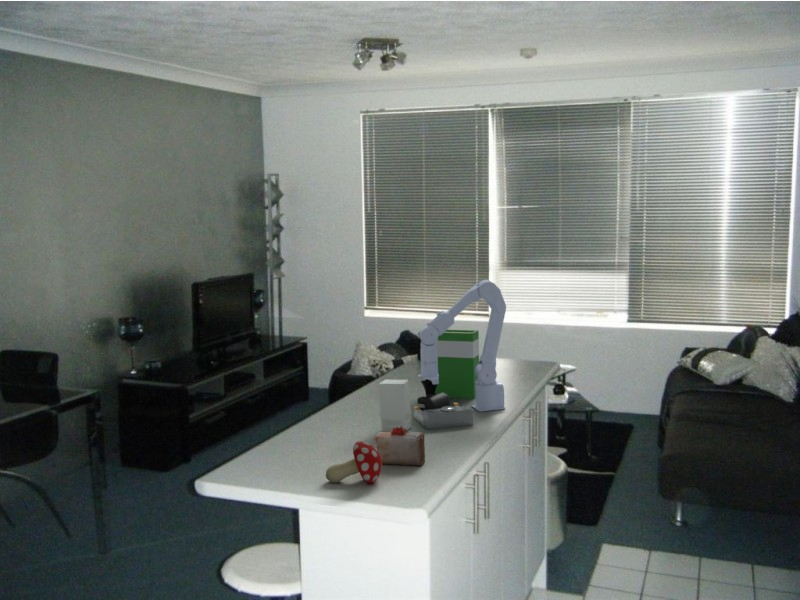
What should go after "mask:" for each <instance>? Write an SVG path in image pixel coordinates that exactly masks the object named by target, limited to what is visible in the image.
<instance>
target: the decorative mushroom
mask: <svg viewBox="0 0 800 600" xmlns="http://www.w3.org/2000/svg"><path fill="white" fill-rule="evenodd" d="M352 454H353V458H352V459H350V460H347V461H345V462H342V463H337V464H333V465H331V466H329V467H328V468H327V469H326V471H325V472H326V473H325V477H326V480H328V481H329V482H330V483H334V484H336V483H338V482H342V481H343V480H345V479H346V478H348V477H350V476H353V475H356V474H358V473H359V475H360V476H361V478H362V480H363V481H364V482H365V483H367V484H373V483H375V482H377V480H378V479H379V476H380V474H381V473H382V467H383V466H382V465H383V464H382V459H381V456H380V454H379V452H378V451H377V448H375V447H374V445H372V444H370V443H368V442H365V441H356V442H355V443H354V445H353V448H352Z"/></svg>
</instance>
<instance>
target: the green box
mask: <svg viewBox="0 0 800 600" xmlns="http://www.w3.org/2000/svg"><path fill="white" fill-rule="evenodd" d="M479 337H480V336H479V330H473V329H469V330H468V329H447V330H446V331H445V332H444V333H443V334H442V335H440V336H438V340H437V342H436V348H437V358H438V374H439V377H438V378H439V384H438V385H437V387H436V390H435V394H439V393H442V392H443V393H445V394H447V395H448V396H449V398H451V399H452V398H454V399H470V400H476V392H475V381H476V380H477V378H478V377H477V375H476V374H475V367H476V365H477V364H478V363H479V360H480V346H479V345H480V344H479V343H480V342H479V341H480V340H479V339H480V338H479Z"/></svg>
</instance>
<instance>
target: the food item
mask: <svg viewBox="0 0 800 600" xmlns="http://www.w3.org/2000/svg"><path fill="white" fill-rule="evenodd" d="M374 442H375V446H376V450H377V451H378V452H379V454H380V456H381V459H382V465H395V466H396V465H397V466H398V465H400V466H401V465H402V466H417V467H418V466H423V465H424V463H425V461H426V453H425V452H426V451H425V449H426V447H425V433H424V432H418V431H416V432H415V431H408V430H406V429H404V428H403V427H402V425H401V426H400V428H398V427H397V428H393V430H392V432H388V431H379V432H378V433H376V435H375V437H374Z"/></svg>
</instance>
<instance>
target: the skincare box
mask: <svg viewBox="0 0 800 600" xmlns="http://www.w3.org/2000/svg"><path fill="white" fill-rule="evenodd" d="M409 382H410V381H409V379H388V378H387V379H384V380H383V381H381V382H380V383H378V395H379V408H380V409H379V410H380V412H379V413H380V423H381V424H380V425H381V427H380V428H381V432H392V430H393V428H397V427H398V428H400V426H401V425H402V427H403V428H404V429H406V430H407V431H409V430H410V429H411V428H412V414H411V412H412V411H411V399H410V397H411V395H410V383H409Z"/></svg>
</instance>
